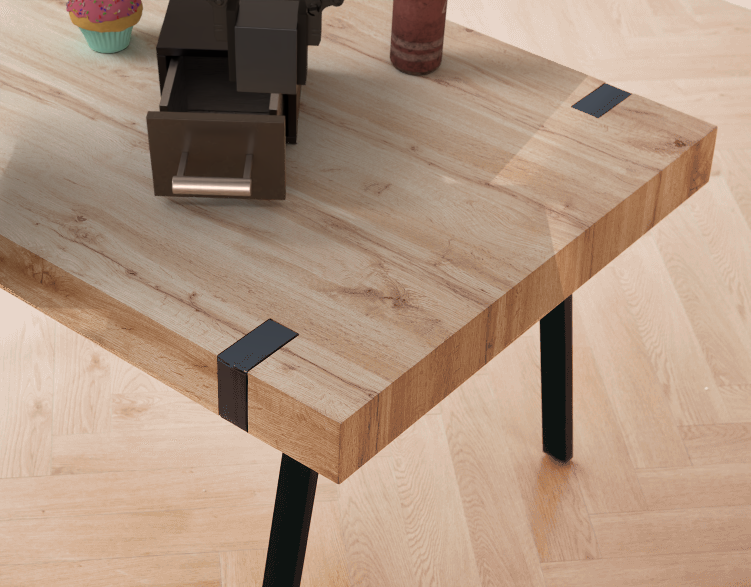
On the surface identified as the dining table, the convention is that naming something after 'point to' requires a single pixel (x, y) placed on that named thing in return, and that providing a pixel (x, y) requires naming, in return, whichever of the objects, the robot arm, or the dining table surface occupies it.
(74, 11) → the cupcake
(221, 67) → the drawer
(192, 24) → the dark brown cabinet
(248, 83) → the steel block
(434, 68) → the can
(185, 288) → the dining table surface
